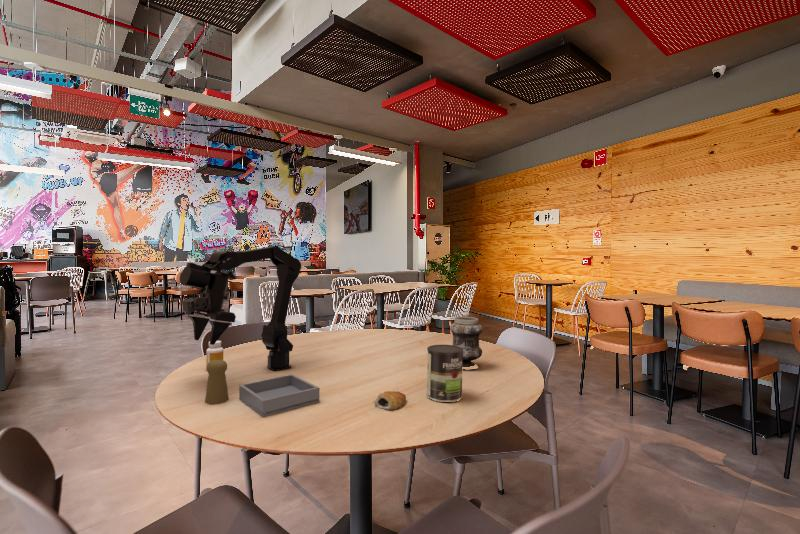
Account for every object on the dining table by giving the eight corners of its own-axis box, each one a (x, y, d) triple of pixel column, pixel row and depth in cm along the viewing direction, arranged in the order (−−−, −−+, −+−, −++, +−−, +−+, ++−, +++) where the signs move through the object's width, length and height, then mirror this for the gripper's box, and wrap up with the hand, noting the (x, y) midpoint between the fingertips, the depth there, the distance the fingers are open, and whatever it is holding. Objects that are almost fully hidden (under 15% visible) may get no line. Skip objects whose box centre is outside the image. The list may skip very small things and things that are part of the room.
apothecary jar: (486, 365, 150) (487, 317, 150) (474, 373, 140) (475, 321, 139) (456, 360, 157) (457, 314, 156) (443, 367, 147) (443, 318, 146)
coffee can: (469, 399, 115) (470, 350, 115) (439, 405, 110) (439, 354, 110) (449, 388, 124) (449, 342, 124) (419, 393, 119) (420, 346, 119)
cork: (219, 405, 108) (219, 364, 108) (199, 403, 109) (199, 362, 109) (233, 397, 114) (233, 358, 114) (214, 395, 115) (214, 357, 115)
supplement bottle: (226, 368, 142) (226, 341, 142) (214, 372, 137) (214, 344, 137) (215, 366, 144) (215, 339, 144) (202, 370, 140) (202, 342, 139)
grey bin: (292, 387, 123) (292, 374, 123) (319, 402, 112) (319, 387, 111) (239, 399, 113) (239, 384, 113) (262, 417, 101) (262, 401, 101)
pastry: (392, 397, 117) (392, 384, 116) (412, 402, 113) (412, 389, 113) (372, 407, 109) (372, 393, 109) (392, 413, 105) (393, 398, 105)
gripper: (174, 284, 124) (162, 335, 121) (206, 288, 112) (192, 345, 110) (209, 290, 132) (198, 338, 130) (241, 295, 121) (230, 347, 119)
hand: (203, 342), depth 122 cm, fingers open, 9 cm apart
